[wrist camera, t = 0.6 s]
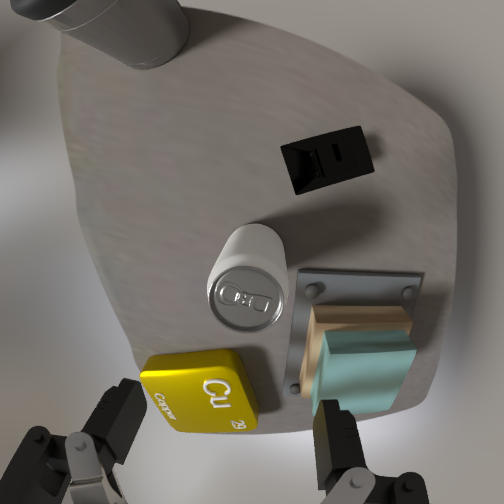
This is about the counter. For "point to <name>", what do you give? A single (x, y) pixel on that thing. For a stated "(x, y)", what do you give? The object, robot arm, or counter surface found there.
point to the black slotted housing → (327, 159)
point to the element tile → (202, 391)
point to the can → (249, 280)
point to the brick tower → (350, 338)
